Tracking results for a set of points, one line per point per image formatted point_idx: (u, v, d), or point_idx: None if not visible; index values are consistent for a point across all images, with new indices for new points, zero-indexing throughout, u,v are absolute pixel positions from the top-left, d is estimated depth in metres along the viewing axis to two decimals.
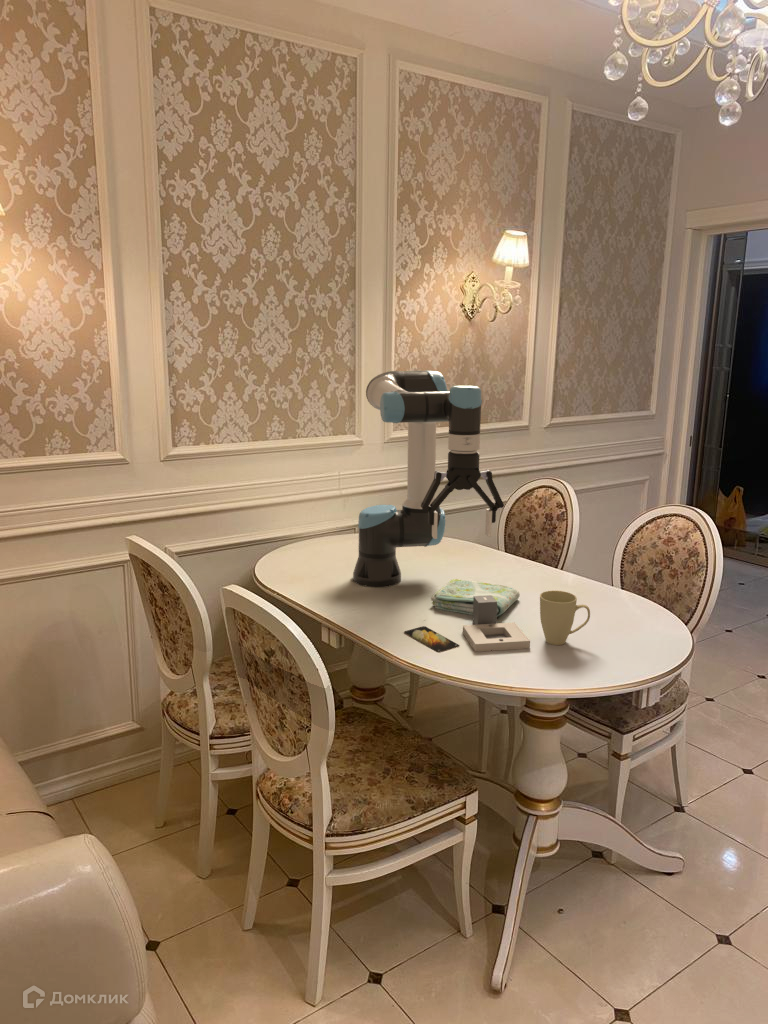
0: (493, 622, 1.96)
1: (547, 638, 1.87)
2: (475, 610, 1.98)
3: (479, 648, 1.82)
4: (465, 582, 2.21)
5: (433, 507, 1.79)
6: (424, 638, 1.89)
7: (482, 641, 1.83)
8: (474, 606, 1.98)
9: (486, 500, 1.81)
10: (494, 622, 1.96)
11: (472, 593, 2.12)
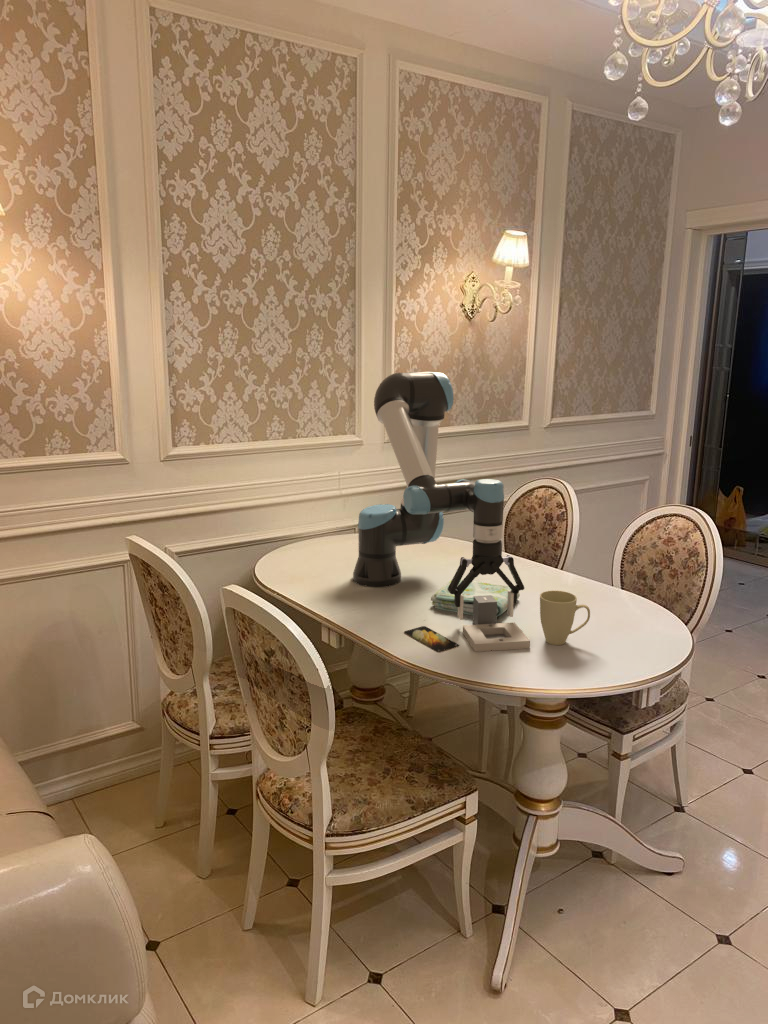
0: (493, 622, 1.96)
1: (547, 638, 1.87)
2: (475, 610, 1.98)
3: (479, 648, 1.82)
4: None
5: (459, 591, 1.94)
6: (424, 638, 1.89)
7: (482, 641, 1.83)
8: (474, 606, 1.98)
9: (508, 583, 1.95)
10: (494, 622, 1.96)
11: (472, 593, 2.12)
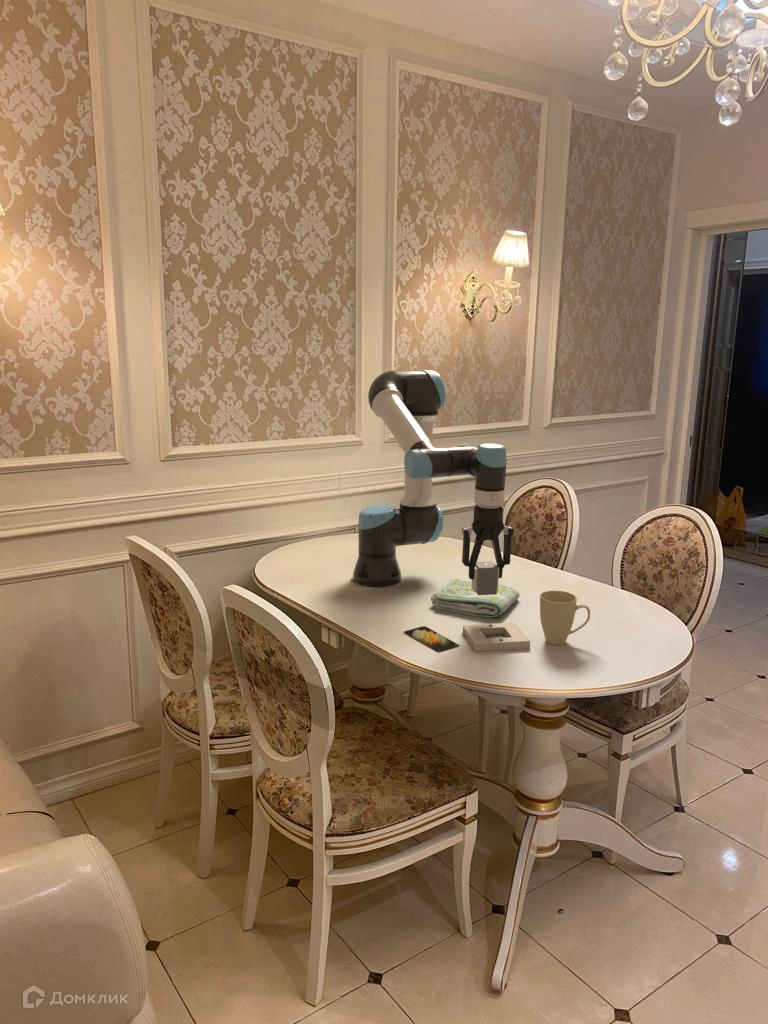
0: (494, 588, 1.94)
1: (547, 638, 1.87)
2: None
3: (479, 648, 1.82)
4: (465, 582, 2.21)
5: (473, 563, 1.93)
6: (424, 638, 1.89)
7: (482, 641, 1.83)
8: None
9: (498, 555, 1.94)
10: (495, 588, 1.94)
11: (472, 593, 2.12)
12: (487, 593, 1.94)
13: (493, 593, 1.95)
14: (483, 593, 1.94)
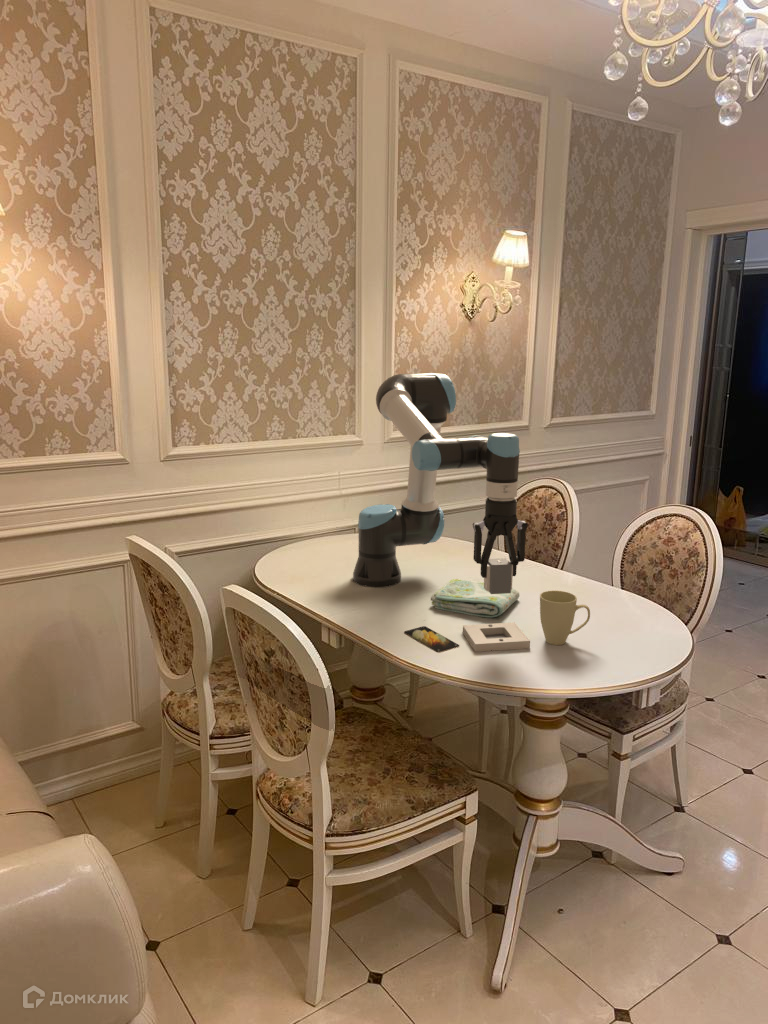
0: (507, 586, 1.83)
1: (547, 638, 1.87)
2: None
3: (479, 648, 1.82)
4: (465, 582, 2.21)
5: (485, 560, 1.82)
6: (424, 638, 1.89)
7: (482, 641, 1.83)
8: None
9: (511, 551, 1.83)
10: (508, 586, 1.83)
11: (472, 593, 2.12)
12: (501, 591, 1.83)
13: (507, 592, 1.83)
14: (496, 592, 1.83)
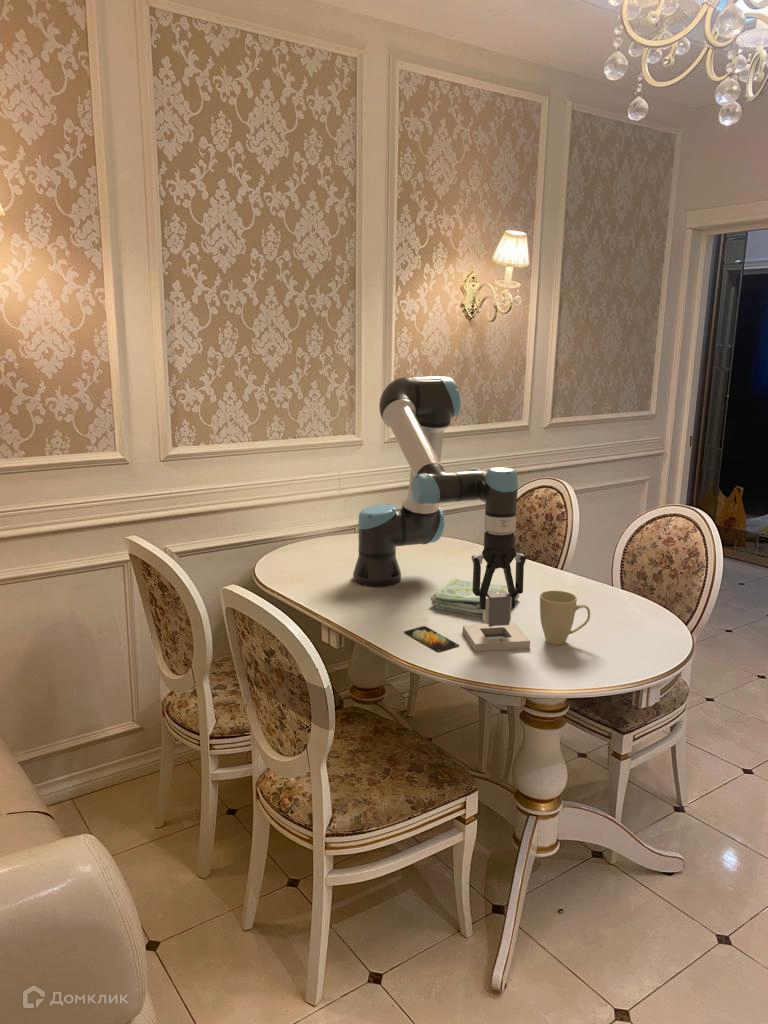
0: (506, 618, 1.85)
1: (547, 638, 1.87)
2: None
3: (479, 648, 1.82)
4: (465, 582, 2.21)
5: (484, 593, 1.84)
6: (424, 638, 1.89)
7: (482, 641, 1.83)
8: None
9: (510, 584, 1.85)
10: (507, 618, 1.85)
11: (472, 593, 2.12)
12: (500, 623, 1.85)
13: (506, 624, 1.85)
14: (495, 624, 1.85)
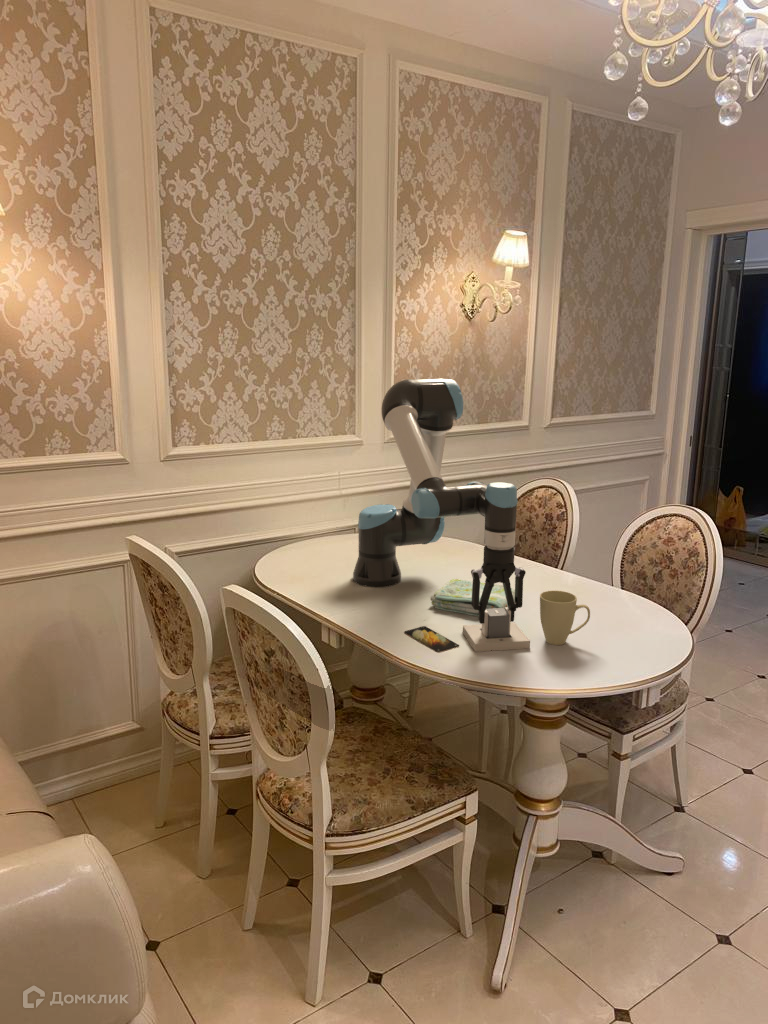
0: (505, 636, 1.86)
1: (547, 638, 1.87)
2: None
3: (479, 648, 1.82)
4: (465, 582, 2.21)
5: (483, 607, 1.85)
6: (424, 638, 1.89)
7: (482, 641, 1.83)
8: None
9: (509, 598, 1.86)
10: (506, 636, 1.86)
11: (471, 593, 2.12)
12: None
13: None
14: None
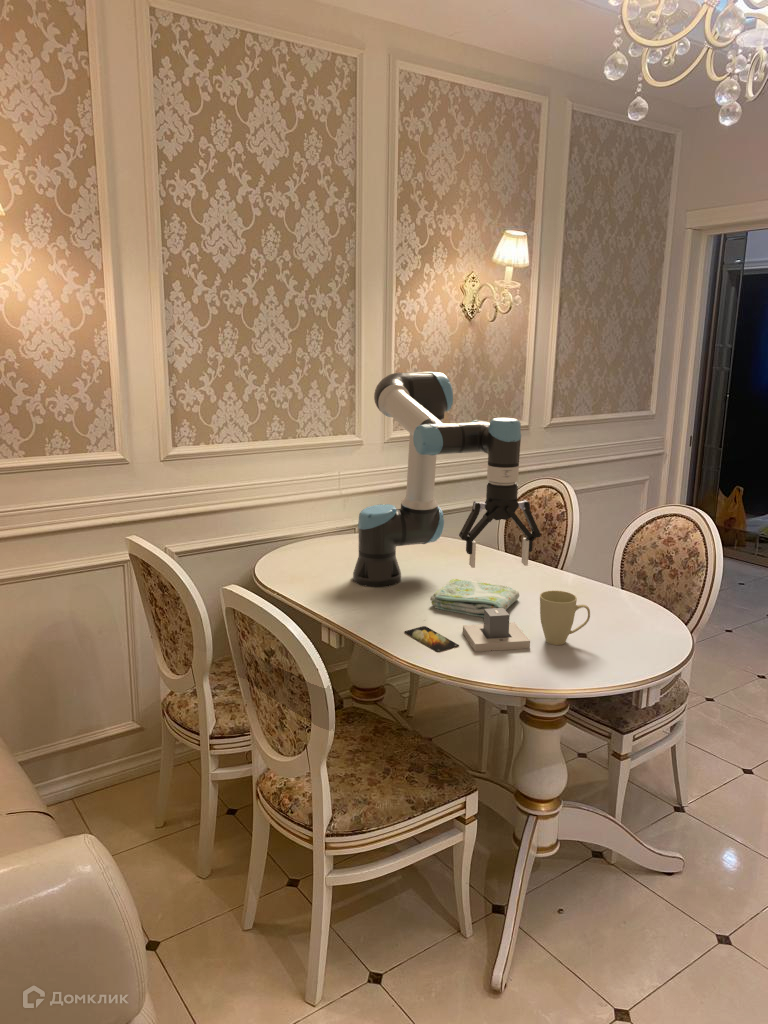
0: (505, 636, 1.86)
1: (547, 638, 1.87)
2: (486, 624, 1.88)
3: (479, 648, 1.82)
4: (465, 582, 2.21)
5: (471, 537, 1.83)
6: (424, 638, 1.89)
7: (482, 641, 1.83)
8: (485, 619, 1.89)
9: (523, 530, 1.84)
10: (506, 636, 1.86)
11: (471, 593, 2.12)
12: None
13: None
14: None
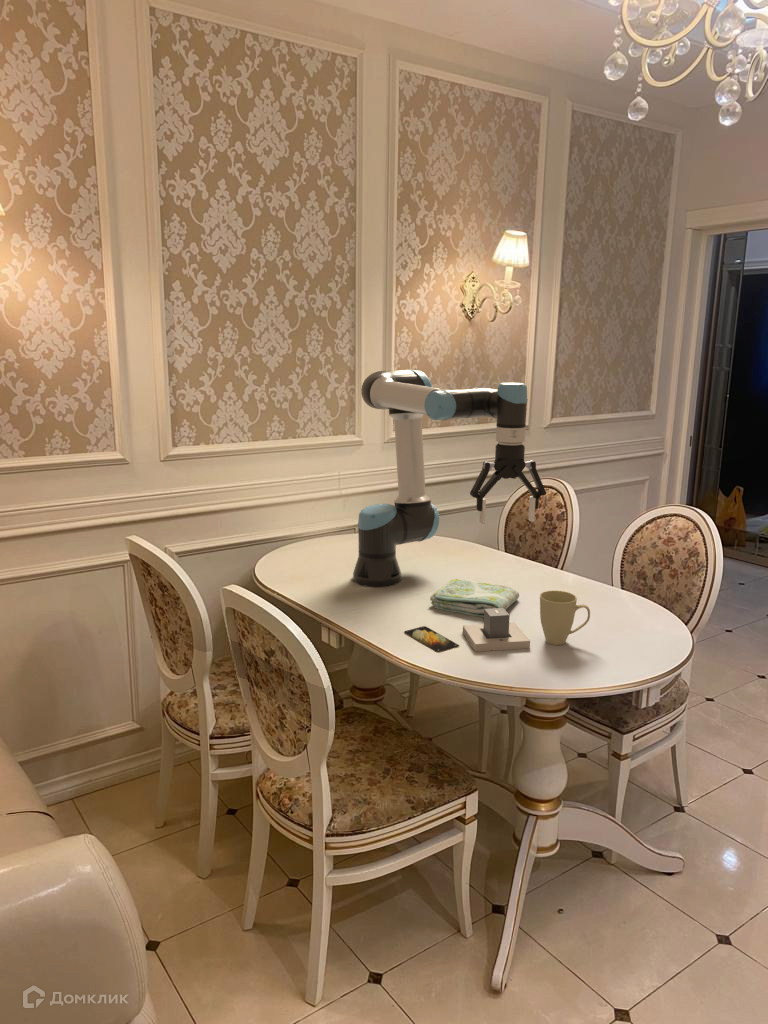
0: (505, 636, 1.86)
1: (547, 638, 1.87)
2: (486, 624, 1.88)
3: (479, 648, 1.82)
4: (465, 582, 2.21)
5: (482, 494, 1.95)
6: (424, 638, 1.89)
7: (482, 641, 1.83)
8: (485, 619, 1.89)
9: (530, 488, 1.97)
10: (506, 636, 1.86)
11: (471, 593, 2.12)
12: None
13: None
14: None
